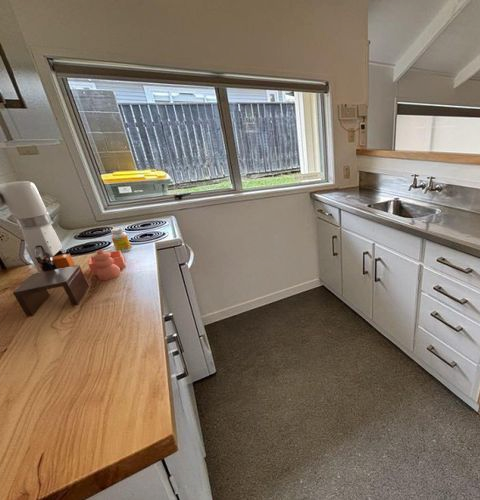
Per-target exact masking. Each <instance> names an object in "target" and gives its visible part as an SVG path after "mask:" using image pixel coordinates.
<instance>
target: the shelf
mask: <svg viewBox="0 0 480 500" xmlns="http://www.w3.org/2000/svg"><path fill="white" fill-rule="evenodd" d="M60 287H62V288H63V290H64V291H65V293H66V295H67V297H68V300H69V301H70V304H71V306H72V307H75V306H79V304H80V303H81V301H82V299H83V297H84V296H85V295H86V292H87V291H88V289H89V288H90V285H89V283H88V281H87V278H86V277H85V274H84V272H83V270H82V268H81V266H80V264H76V265H75V266H71V267H65V268H60V269H55V270H50V271H45V272H40V273H38V272H36V273H32V274H31V275H29V276H28V277H27V279H25V280H24V282H22V283H21V284H20V285H19V286H18V287H17V288H15V290H14V291H13V292H12V294H13V296H14V297H15V299H16V301H17V303H18V305H19V306H20V307H21V309H22V311H23V313H24V314H25V317H27V318H30V317H34V315H35V314H36V313H37V312H38V311H39V309H41V306H43V304H44V303H45V302H46V300H47V299H49V297H50V295H51V294H50V293H49V291H48V290H52V289H56V288H60Z"/></svg>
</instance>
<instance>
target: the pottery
mask: <svg viewBox="0 0 480 500" xmlns="http://www.w3.org/2000/svg"><path fill="white" fill-rule="evenodd" d="M88 267H89V269H90V272H91V274H92V276H96V277H97V278H98V279H99V280H100V281H108V280H112V279H115V278H117V277H119V276H120V275H121V269H123V268H126V262H125V258H124V256H123V252H121V250H118V251H116V250H115V251H110V252H108V251H107V252H106V251H104V250H103V249H98V250H96V253H95V254H94V255H92V256H89V258H88Z"/></svg>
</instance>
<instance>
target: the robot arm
mask: <svg viewBox="0 0 480 500" xmlns="http://www.w3.org/2000/svg"><path fill="white" fill-rule="evenodd" d="M4 207H7V208H8V210H9V212H10V213H11V215H12V217H13V219H14V221H15V223H16V225H17V227H18V229H19V230H21V234H22V237H23V239H24V242H25V245H26V244H27V247H28V249H29V251H30V253H31V255H32V257H33V259H36V260H37V261H38V263H39V264H40V266H41V267H42V269H43V271H44V272H45V271H50V270H55V269H58V268H57V266H56V264H55V263H53V259H52V257H53V256H59V255H64V254H66V253H65V250H64V249H63V245H62V243H61V240H60V239H59V236H58V234H57V232H56V231H55V229H54V227H53V226H52V225H53V224H54V222H53V219H52V218H51V216H50V214H49V211H48V209H47V207H46V204H45V203H44V200H43V198H42V197H41V194H40V192H39V190H38V188H37V186H36V185H35V183H34V182H32V181H28V180H18V181H10V182H5V183H4V182H3V183H0V208H4ZM42 255H44V256H42ZM45 258H48V260H47V259H45Z"/></svg>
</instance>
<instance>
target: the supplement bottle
mask: <svg viewBox="0 0 480 500" xmlns="http://www.w3.org/2000/svg"><path fill="white" fill-rule="evenodd" d="M110 232H111V235H110V236H111V237H110V239H111V240H112V241H111V242H112V243H113V246H114V248H115V251H118V250H121V253H125V252H128V251H130V250H132V248H133V247H132V245H131V242H130V240H129V237H128V234H127V233H126V232H125V231H124V229H123V227H115V228H112V229H110Z"/></svg>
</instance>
